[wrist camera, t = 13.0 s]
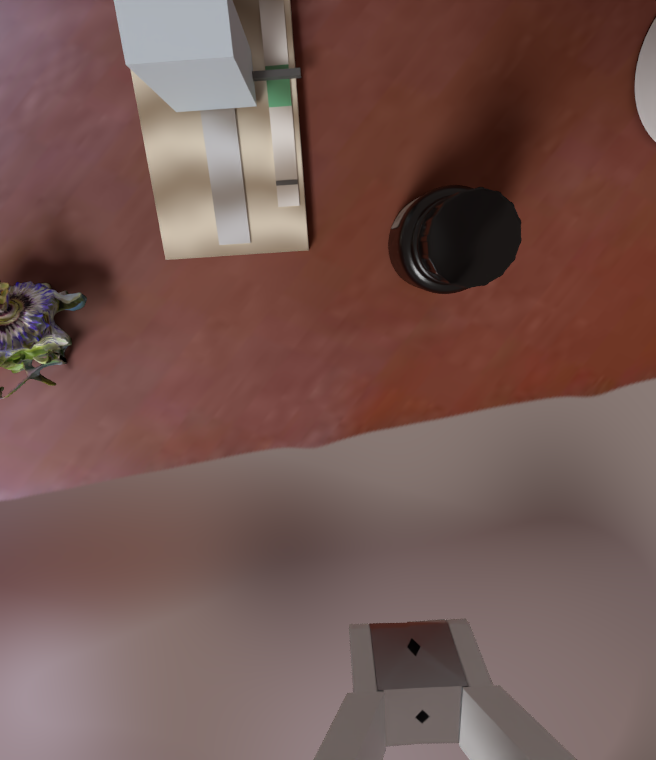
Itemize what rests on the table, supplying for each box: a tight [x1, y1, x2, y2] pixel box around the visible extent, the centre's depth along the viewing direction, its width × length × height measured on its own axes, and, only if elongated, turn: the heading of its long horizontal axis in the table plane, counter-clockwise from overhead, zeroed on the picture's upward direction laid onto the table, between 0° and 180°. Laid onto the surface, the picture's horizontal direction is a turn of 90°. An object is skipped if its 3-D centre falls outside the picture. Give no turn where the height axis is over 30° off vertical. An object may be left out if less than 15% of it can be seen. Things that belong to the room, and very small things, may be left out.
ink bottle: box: [388, 185, 521, 294], centre depth 34 cm, size 10×9×12 cm
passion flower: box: [0, 281, 87, 399], centre depth 38 cm, size 11×11×12 cm
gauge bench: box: [131, 0, 309, 260], centre depth 31 cm, size 24×14×10 cm, turn 4°
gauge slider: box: [114, 0, 301, 112], centre depth 29 cm, size 6×11×9 cm, turn 94°
